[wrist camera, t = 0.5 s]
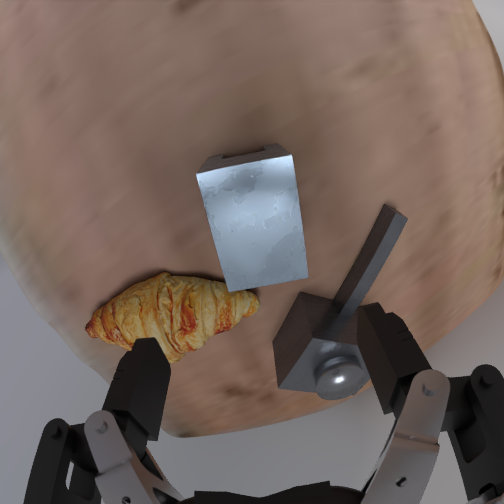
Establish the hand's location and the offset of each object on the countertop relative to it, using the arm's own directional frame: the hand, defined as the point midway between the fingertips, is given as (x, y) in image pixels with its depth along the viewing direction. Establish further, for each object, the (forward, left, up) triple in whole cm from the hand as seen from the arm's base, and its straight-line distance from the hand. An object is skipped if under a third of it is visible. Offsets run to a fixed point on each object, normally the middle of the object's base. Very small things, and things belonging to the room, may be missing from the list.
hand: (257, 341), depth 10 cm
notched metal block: (-1, 0, -17) cm, 17 cm away
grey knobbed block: (+5, +13, -17) cm, 22 cm away
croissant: (+14, -5, -17) cm, 23 cm away
